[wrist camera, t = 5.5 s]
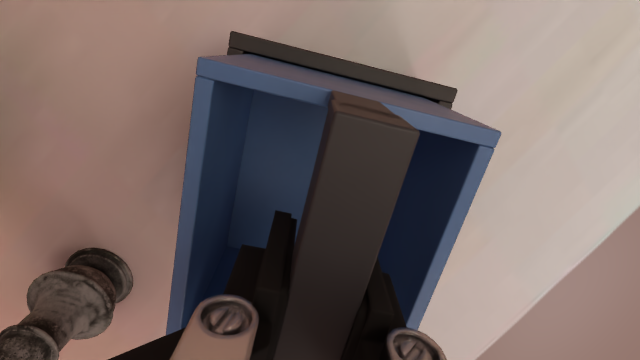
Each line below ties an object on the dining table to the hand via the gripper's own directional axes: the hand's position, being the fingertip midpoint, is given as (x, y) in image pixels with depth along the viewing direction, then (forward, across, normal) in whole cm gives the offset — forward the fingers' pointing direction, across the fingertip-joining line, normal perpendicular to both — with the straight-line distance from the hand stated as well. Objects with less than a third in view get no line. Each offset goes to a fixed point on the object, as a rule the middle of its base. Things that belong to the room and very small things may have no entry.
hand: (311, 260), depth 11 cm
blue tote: (+8, 0, 0) cm, 8 cm away
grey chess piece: (+14, +14, +14) cm, 25 cm away
